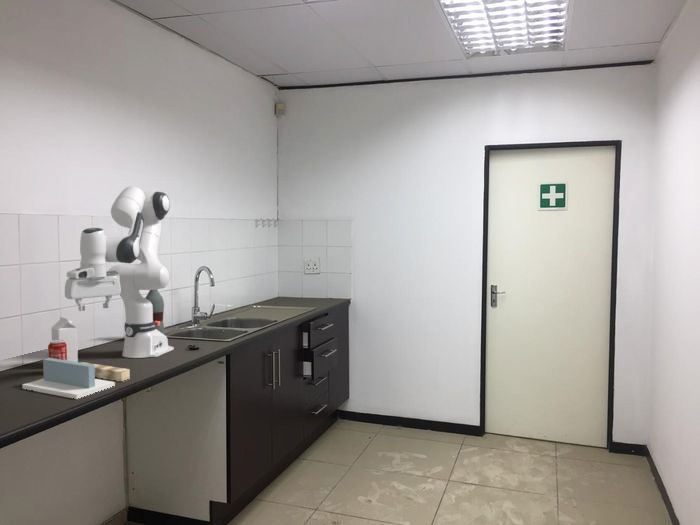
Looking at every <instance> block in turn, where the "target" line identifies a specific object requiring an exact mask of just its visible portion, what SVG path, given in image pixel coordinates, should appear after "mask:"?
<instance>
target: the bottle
mask: <svg viewBox="0 0 700 525" xmlns="http://www.w3.org/2000/svg"><path fill="white" fill-rule="evenodd" d="M144 298H146V299H148V300H149V301H150V302H151V303H152V305H153V321H154V322H155V321H160V325H159V326H157V325H155V326H156V329H157V330H158V331H160V332H161V333H162V334H164V335H165V332H166V331H165V325H164V324H165V323H164V309H165V302H164V298H163V296H162V295H161V293H160V292H159V289H156V290H148V292H147V294H146V296H145V297H144Z"/></svg>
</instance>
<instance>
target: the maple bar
mask: <svg viewBox="0 0 700 525" xmlns="http://www.w3.org/2000/svg"><path fill="white" fill-rule="evenodd" d="M79 363H86V364H92V365H95V377H97V378H96V379H101V378H103V379H102V380H107V379H109V380H108V381H113V380H116V381H115V382H119V381H123V382H125V381H124V380H126V381H128V380H127V379H129V380H130V379H131V377H130V376H131V375H130V374H131V373H130V371H131V370H130V369H129V368H123V367H116V366H110V365H104V364H98V363H97V364H96V363H90V362H84V361H80V362H79Z"/></svg>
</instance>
